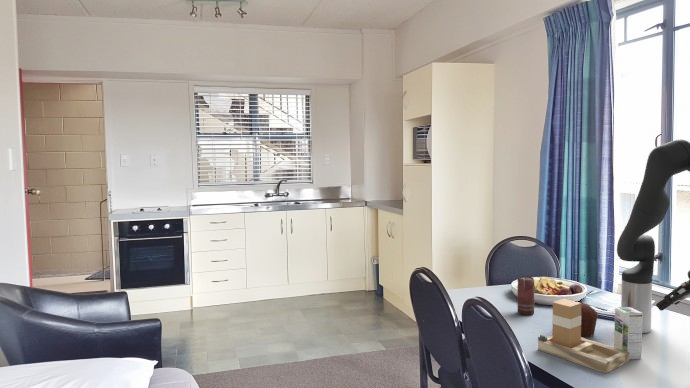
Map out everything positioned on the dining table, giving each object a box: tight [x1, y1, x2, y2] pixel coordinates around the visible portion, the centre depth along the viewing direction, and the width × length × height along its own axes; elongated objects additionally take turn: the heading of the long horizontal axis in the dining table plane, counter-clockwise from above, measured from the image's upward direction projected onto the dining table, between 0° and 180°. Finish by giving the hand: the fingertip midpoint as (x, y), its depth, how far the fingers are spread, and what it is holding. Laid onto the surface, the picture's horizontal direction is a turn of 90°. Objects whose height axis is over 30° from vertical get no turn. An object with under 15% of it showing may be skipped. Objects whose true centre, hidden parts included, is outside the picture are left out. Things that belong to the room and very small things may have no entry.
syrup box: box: [613, 307, 643, 360], centre depth 160 cm, size 6×6×14 cm
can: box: [517, 276, 535, 317], centre depth 201 cm, size 6×6×14 cm
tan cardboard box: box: [551, 299, 582, 348], centre depth 165 cm, size 6×6×15 cm
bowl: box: [510, 276, 588, 306], centre depth 223 cm, size 30×30×8 cm
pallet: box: [537, 334, 630, 374], centre depth 161 cm, size 13×22×5 cm, turn 34°
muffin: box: [580, 302, 599, 338], centre depth 180 cm, size 12×11×10 cm
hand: (665, 304), depth 150 cm, fingers open, 8 cm apart
